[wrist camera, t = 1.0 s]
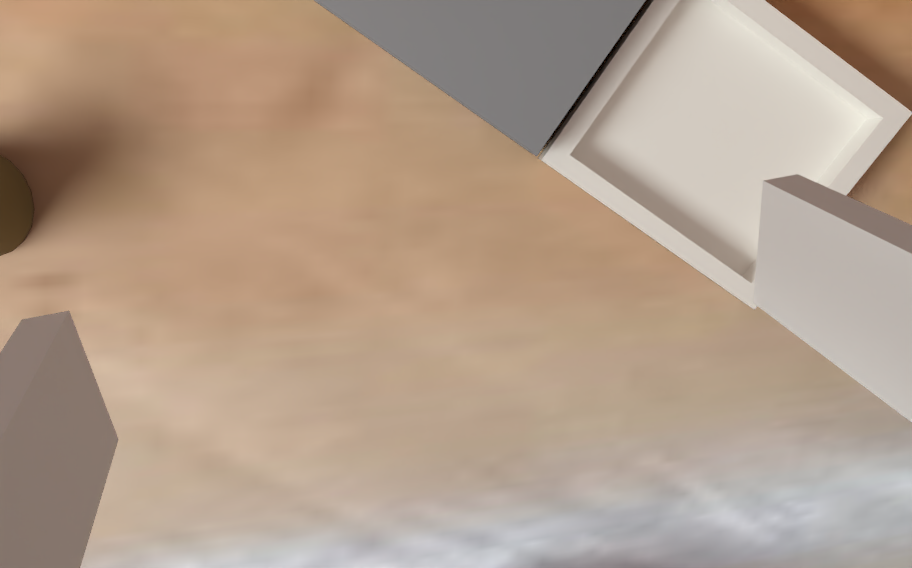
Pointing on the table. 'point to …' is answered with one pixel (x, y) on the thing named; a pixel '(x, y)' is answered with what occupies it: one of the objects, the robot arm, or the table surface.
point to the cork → (13, 207)
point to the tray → (718, 127)
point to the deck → (498, 52)
